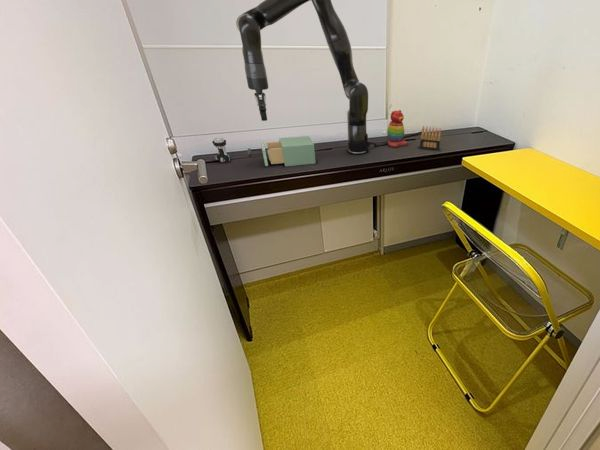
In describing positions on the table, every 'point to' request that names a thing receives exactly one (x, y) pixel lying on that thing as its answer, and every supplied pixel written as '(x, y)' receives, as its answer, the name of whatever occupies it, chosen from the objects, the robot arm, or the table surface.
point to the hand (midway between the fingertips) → (263, 117)
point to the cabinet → (298, 151)
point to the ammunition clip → (430, 139)
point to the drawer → (270, 152)
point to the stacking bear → (396, 130)
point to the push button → (221, 150)
